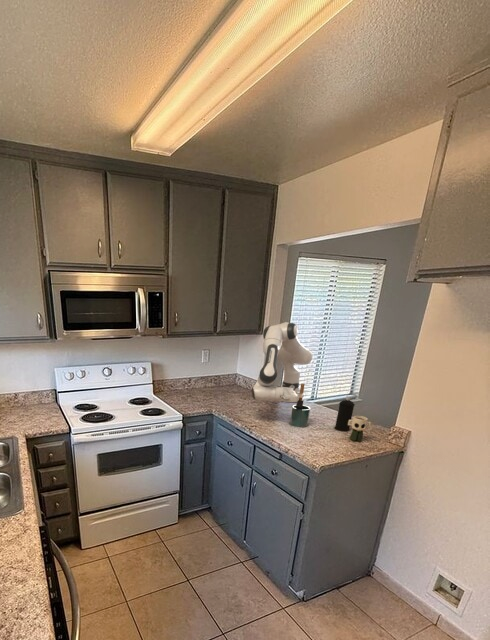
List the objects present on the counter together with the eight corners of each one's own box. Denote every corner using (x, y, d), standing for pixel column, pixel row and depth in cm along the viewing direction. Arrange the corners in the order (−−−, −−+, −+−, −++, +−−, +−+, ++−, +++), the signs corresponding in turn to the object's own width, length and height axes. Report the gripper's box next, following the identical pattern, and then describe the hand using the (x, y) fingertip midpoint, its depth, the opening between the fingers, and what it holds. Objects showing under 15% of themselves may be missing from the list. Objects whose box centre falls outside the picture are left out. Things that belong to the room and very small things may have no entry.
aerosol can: (352, 430, 211) (359, 398, 204) (341, 432, 209) (347, 399, 202) (342, 426, 219) (348, 394, 211) (331, 427, 216) (337, 395, 209)
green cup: (288, 421, 227) (291, 404, 223) (305, 421, 225) (307, 405, 221) (291, 426, 217) (294, 409, 213) (309, 427, 216) (312, 410, 212)
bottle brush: (295, 408, 220) (299, 382, 214) (301, 408, 219) (305, 383, 213) (296, 410, 217) (300, 384, 211) (302, 410, 216) (306, 384, 210)
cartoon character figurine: (345, 440, 197) (350, 418, 192) (344, 436, 203) (348, 414, 198) (367, 443, 193) (372, 420, 188) (365, 438, 199) (370, 416, 194)
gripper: (282, 393, 205) (307, 394, 204) (277, 385, 224) (299, 385, 223) (281, 404, 208) (306, 405, 206) (275, 394, 227) (298, 395, 225)
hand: (302, 395), depth 215 cm, fingers closed on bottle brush, 2 cm apart
